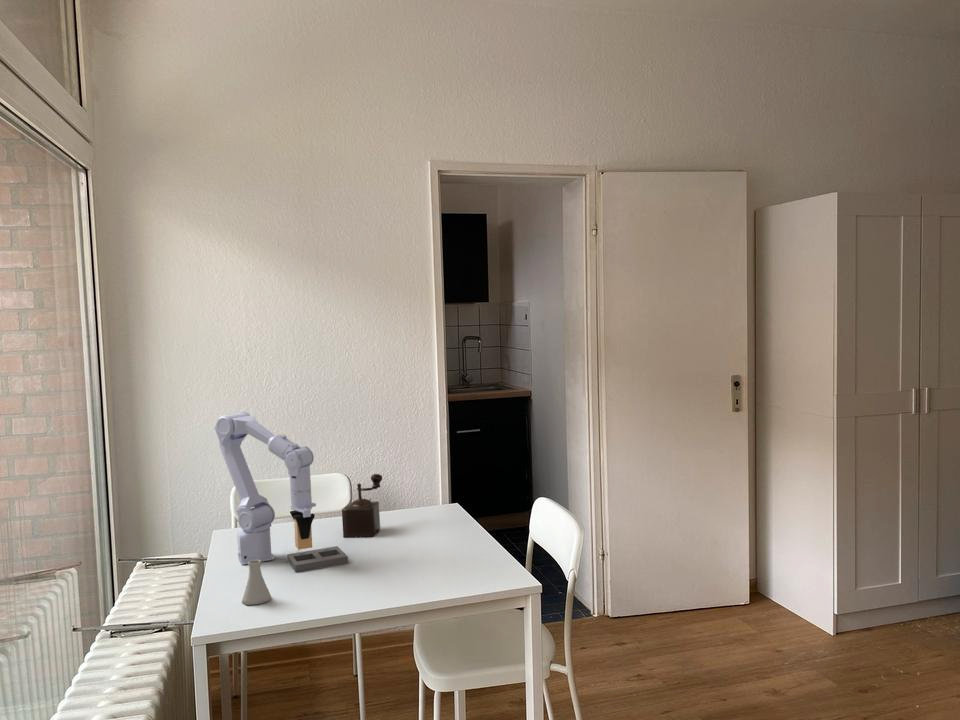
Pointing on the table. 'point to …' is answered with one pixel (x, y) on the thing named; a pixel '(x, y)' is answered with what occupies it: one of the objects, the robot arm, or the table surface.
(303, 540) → the plug
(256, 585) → the flask
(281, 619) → the table surface
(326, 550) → the socket block
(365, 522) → the manual coffee grinder
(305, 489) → the robot arm
